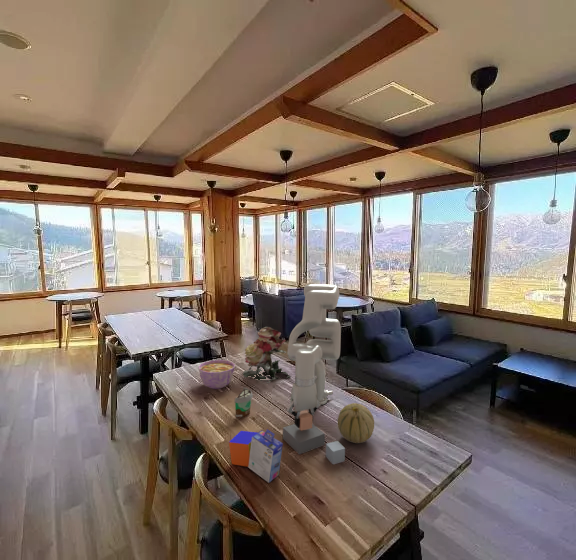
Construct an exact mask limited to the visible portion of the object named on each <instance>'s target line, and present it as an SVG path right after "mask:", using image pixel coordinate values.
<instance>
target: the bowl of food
mask: <svg viewBox="0 0 576 560" xmlns="http://www.w3.org/2000/svg"><path fill="white" fill-rule="evenodd" d="M235 367H236V365H235V363H234V362H232V361H230V360H223V359H218V360H217V359H213V360H209V361H204V362H203V363H201V364H199V365H198V372H199V376H200V379H201V382H202V384H203V385H204V386H206V387H208V388H210V389H212V390H218V389H222V388H224V387H226V386H228V385H229V384H230V383H231V381H232V379H233V374H234V371H235Z"/></svg>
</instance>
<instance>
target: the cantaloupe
mask: <svg viewBox="0 0 576 560" xmlns="http://www.w3.org/2000/svg"><path fill="white" fill-rule="evenodd" d="M337 429H338V432H339V433H340V434H341V436H342V437H343V438H344V439H345V440H346V441H348V442H350V443H353V444H361V443H365V442H367V441H368V440H369V439H370V438H371V437H372V435H373V434H374V429H375V418H374V416H373V414H372V412H371V411H370V410H369V409H368V407H366V406H365V405H363V404H361V403H356V402H352V403H348V404H346V405H345V406H343V408H342V409H341V410H340V412H339V413H338V418H337Z"/></svg>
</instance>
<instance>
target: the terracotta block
mask: <svg viewBox="0 0 576 560" xmlns="http://www.w3.org/2000/svg"><path fill="white" fill-rule="evenodd" d="M299 418H300V428H299V429H300V430H301V431H302V430H306V429H310V428H312V424H313V422H312V418H313V419H314V415H313V416H312V415H311V414H310V413H309V410H308V409H307V410H302V411H300V415H299Z"/></svg>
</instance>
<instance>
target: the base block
mask: <svg viewBox="0 0 576 560" xmlns="http://www.w3.org/2000/svg"><path fill="white" fill-rule="evenodd" d="M325 435H326V433H325V432H324V431H322V430H321V429H320V428H318V426H316V425H314V424H313V423H312V428H310V429H306V430H302V431H301V430H300V429H299V428H298V427H297V426H296V425H295V423H293V424H291V425H290V424H289V425H287V426H284V427H282V439H283V441H285V442H286V443H287V445H289V446H290V447H291V448H292V449H293V450H294V451H295V452H296V453H297V454H298V455H302V454H304V453H306V452H309V451H312V450H316V449H317V448H320V447H323V446H326V442H325V438H326V436H325Z"/></svg>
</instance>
